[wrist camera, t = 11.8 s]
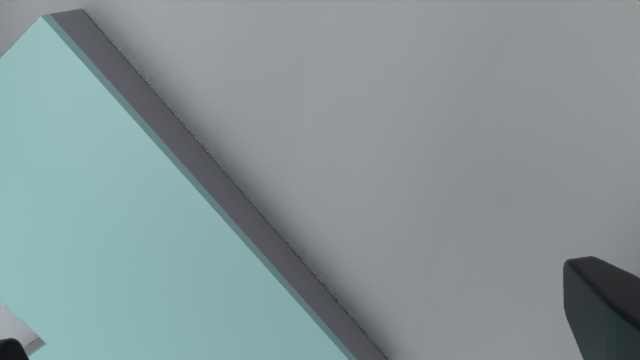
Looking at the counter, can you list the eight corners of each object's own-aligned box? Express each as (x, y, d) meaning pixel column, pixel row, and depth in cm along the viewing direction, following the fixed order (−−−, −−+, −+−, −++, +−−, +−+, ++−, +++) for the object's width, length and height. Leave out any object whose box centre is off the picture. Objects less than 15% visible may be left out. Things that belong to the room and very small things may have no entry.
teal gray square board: (390, 362, 24) (389, 405, 22) (110, 509, 30) (87, 555, 28) (81, 8, 20) (40, 15, 17) (-172, 264, 26) (-226, 294, 24)
